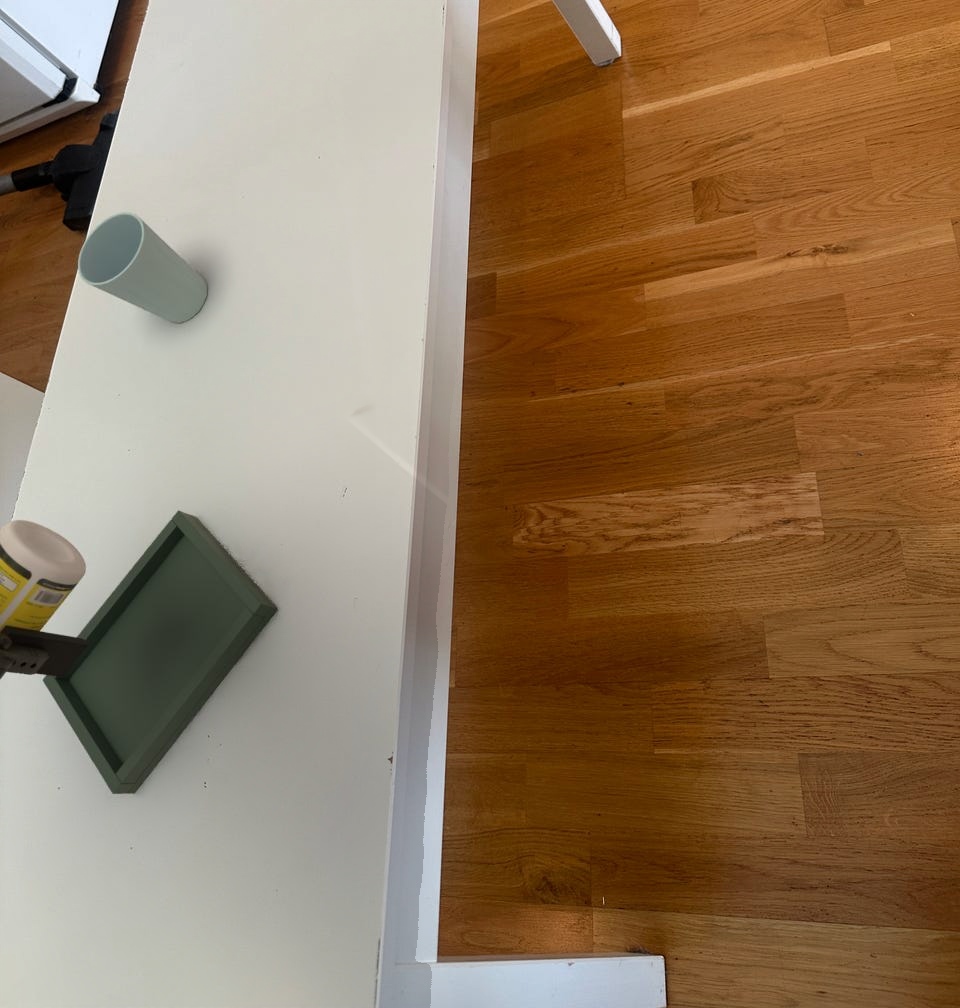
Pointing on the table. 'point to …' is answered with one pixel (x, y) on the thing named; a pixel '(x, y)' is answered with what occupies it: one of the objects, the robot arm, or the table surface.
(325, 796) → the table surface
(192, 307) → the cup
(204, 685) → the tray
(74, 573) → the pill bottle
